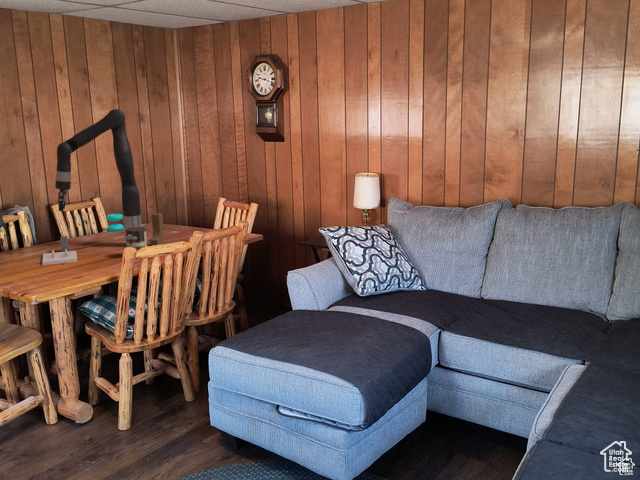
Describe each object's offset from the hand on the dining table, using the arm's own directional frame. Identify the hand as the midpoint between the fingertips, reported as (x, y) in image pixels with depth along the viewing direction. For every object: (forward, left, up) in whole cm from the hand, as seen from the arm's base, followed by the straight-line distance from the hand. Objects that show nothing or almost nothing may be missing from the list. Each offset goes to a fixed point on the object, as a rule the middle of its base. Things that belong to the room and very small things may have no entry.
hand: (61, 209), depth 323 cm
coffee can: (-46, +5, -23) cm, 51 cm away
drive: (-1, +3, -22) cm, 23 cm away
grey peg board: (-10, +19, -22) cm, 31 cm away
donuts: (+4, -57, -23) cm, 62 cm away
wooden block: (-45, -17, -23) cm, 54 cm away
